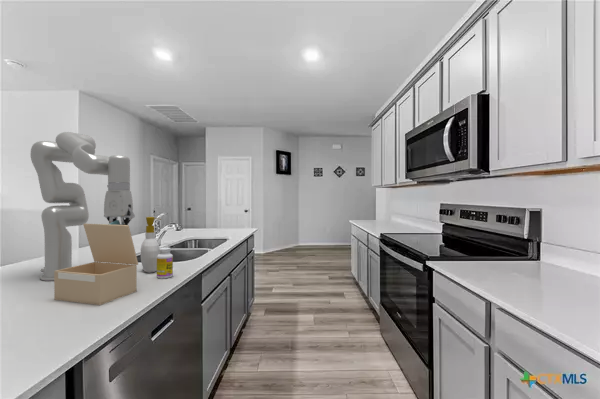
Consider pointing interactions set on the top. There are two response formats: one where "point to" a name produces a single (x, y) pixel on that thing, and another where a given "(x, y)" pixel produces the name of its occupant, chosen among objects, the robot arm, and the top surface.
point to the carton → (95, 282)
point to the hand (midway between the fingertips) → (119, 233)
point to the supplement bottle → (164, 263)
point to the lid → (111, 243)
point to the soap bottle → (149, 248)
